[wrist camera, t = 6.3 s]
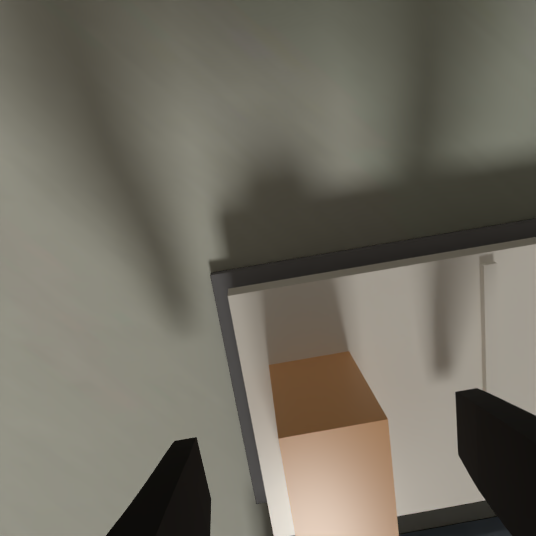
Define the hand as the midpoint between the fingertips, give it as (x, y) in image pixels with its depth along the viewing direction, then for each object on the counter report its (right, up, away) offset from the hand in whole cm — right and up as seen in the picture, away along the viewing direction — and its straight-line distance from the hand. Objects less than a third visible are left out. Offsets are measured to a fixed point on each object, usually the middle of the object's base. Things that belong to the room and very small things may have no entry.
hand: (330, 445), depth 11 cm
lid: (+3, +1, +3) cm, 5 cm away
